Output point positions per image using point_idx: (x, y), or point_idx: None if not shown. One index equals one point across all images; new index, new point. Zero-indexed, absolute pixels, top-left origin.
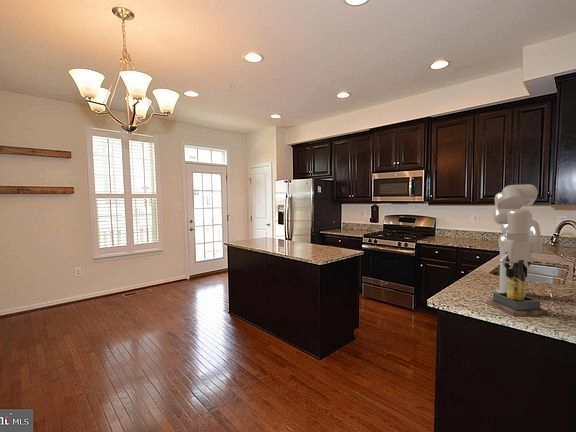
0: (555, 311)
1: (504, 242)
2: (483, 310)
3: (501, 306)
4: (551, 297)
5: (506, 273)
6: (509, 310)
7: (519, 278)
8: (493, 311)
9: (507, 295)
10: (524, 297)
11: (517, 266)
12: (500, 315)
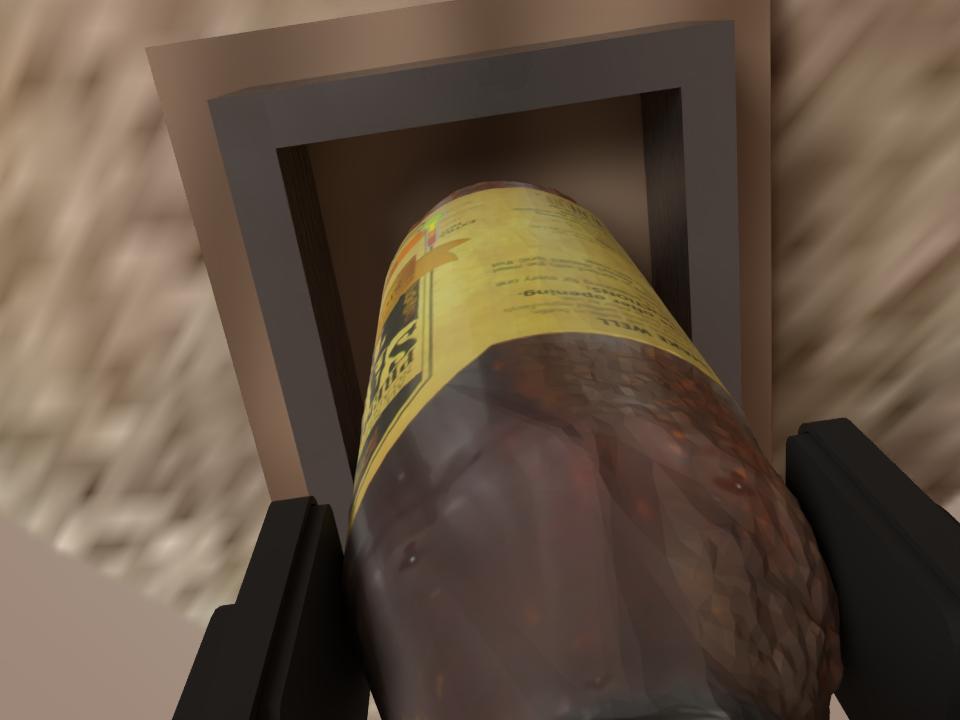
0: (941, 352)
1: None
2: None
3: (249, 332)
4: None
5: (214, 644)
6: (273, 474)
7: None
8: (115, 376)
9: (385, 287)
10: (682, 285)
11: None
12: (141, 497)
